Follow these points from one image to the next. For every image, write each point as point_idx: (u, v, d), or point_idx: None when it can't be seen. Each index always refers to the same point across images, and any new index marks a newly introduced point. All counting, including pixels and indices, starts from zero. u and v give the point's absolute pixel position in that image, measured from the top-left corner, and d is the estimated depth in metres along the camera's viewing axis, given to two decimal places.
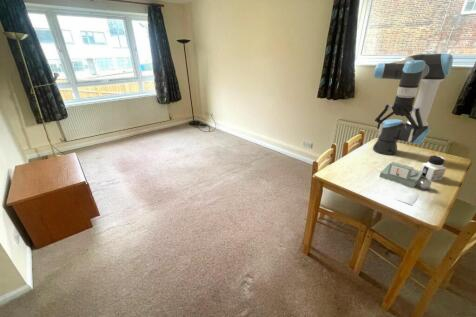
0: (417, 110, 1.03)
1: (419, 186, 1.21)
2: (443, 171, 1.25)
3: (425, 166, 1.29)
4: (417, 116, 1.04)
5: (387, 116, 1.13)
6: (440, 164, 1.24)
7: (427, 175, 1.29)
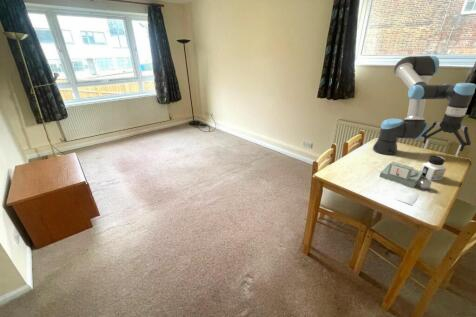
0: (466, 128, 1.12)
1: (419, 186, 1.21)
2: (443, 171, 1.25)
3: (425, 166, 1.29)
4: (466, 133, 1.13)
5: (434, 132, 1.22)
6: (440, 164, 1.24)
7: (427, 175, 1.29)
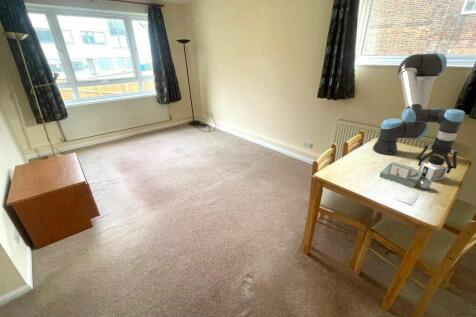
0: (455, 153, 1.18)
1: (419, 186, 1.21)
2: (443, 171, 1.25)
3: (425, 166, 1.29)
4: (454, 157, 1.19)
5: (427, 155, 1.27)
6: (440, 164, 1.24)
7: (427, 175, 1.29)
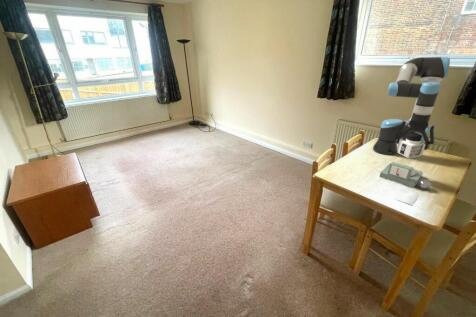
0: (432, 127, 1.15)
1: (419, 186, 1.21)
2: (421, 148, 1.22)
3: (403, 143, 1.26)
4: (431, 132, 1.16)
5: (405, 132, 1.24)
6: (418, 140, 1.20)
7: (405, 153, 1.25)
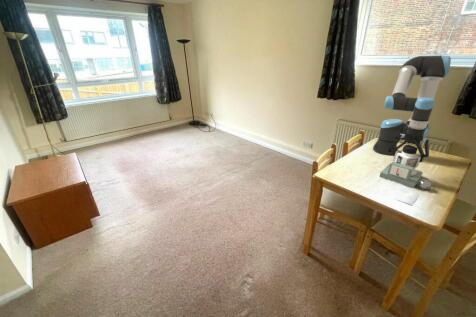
0: (427, 141, 1.18)
1: (419, 186, 1.21)
2: (416, 160, 1.25)
3: (399, 155, 1.29)
4: (426, 146, 1.19)
5: (401, 144, 1.27)
6: (413, 153, 1.24)
7: None
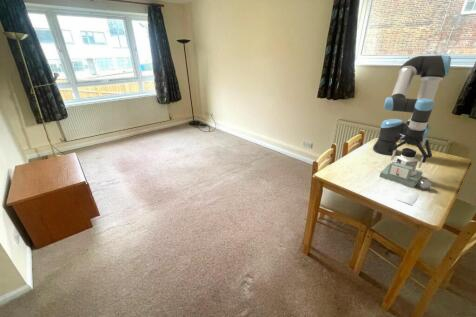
0: (427, 141, 1.18)
1: (419, 186, 1.21)
2: (415, 163, 1.27)
3: (398, 159, 1.30)
4: (427, 146, 1.19)
5: (400, 144, 1.28)
6: (412, 156, 1.25)
7: None
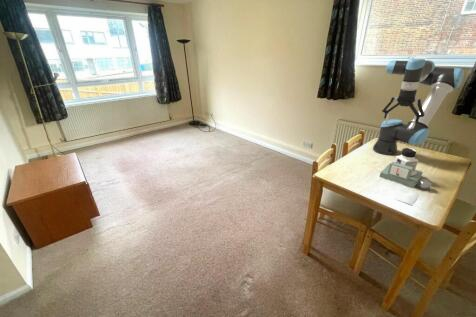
0: (419, 101, 1.21)
1: (419, 186, 1.21)
2: (415, 163, 1.27)
3: (398, 159, 1.30)
4: (419, 106, 1.22)
5: (393, 107, 1.31)
6: (412, 156, 1.25)
7: None
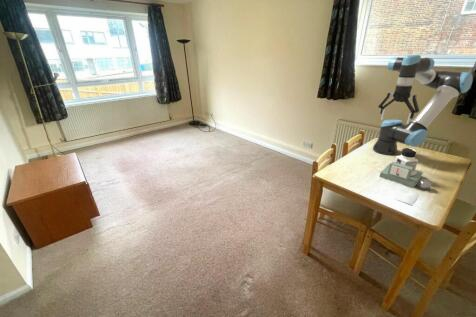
0: (414, 96, 1.23)
1: (419, 186, 1.21)
2: (415, 163, 1.27)
3: (398, 159, 1.30)
4: (414, 101, 1.24)
5: (389, 102, 1.33)
6: (412, 156, 1.25)
7: None
